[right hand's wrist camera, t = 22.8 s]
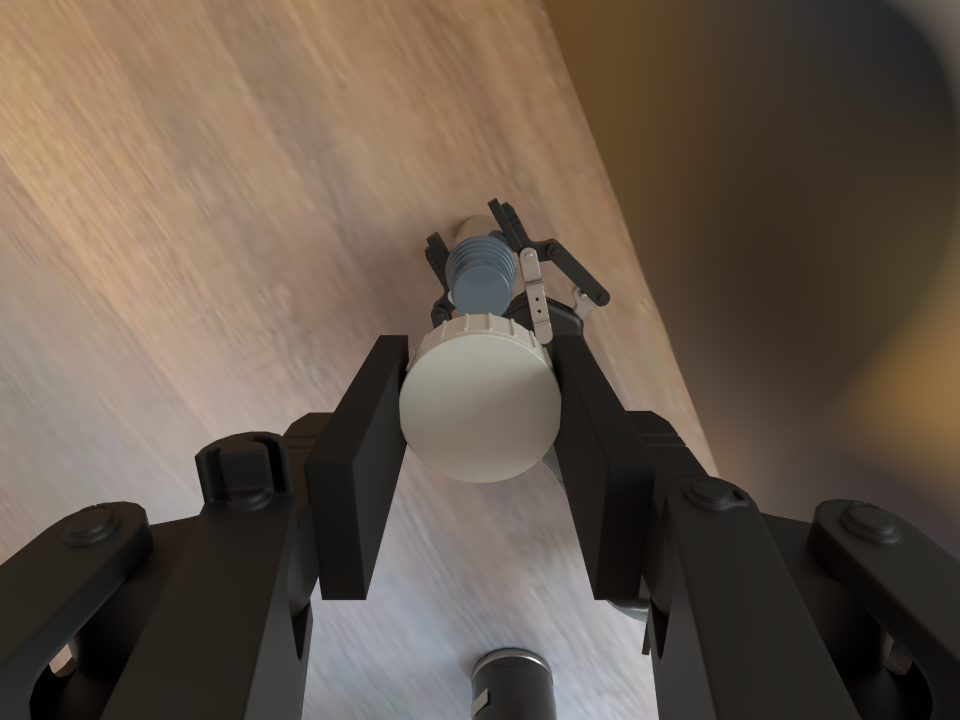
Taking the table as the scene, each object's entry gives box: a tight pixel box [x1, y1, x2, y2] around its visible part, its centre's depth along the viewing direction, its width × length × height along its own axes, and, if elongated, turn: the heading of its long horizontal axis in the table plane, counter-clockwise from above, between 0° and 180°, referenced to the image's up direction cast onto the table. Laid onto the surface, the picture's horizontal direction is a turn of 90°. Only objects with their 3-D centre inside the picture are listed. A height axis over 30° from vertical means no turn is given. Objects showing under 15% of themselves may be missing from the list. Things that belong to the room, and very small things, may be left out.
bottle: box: [446, 215, 517, 317], centre depth 34 cm, size 4×4×20 cm
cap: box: [399, 313, 561, 483], centre depth 14 cm, size 4×4×2 cm
